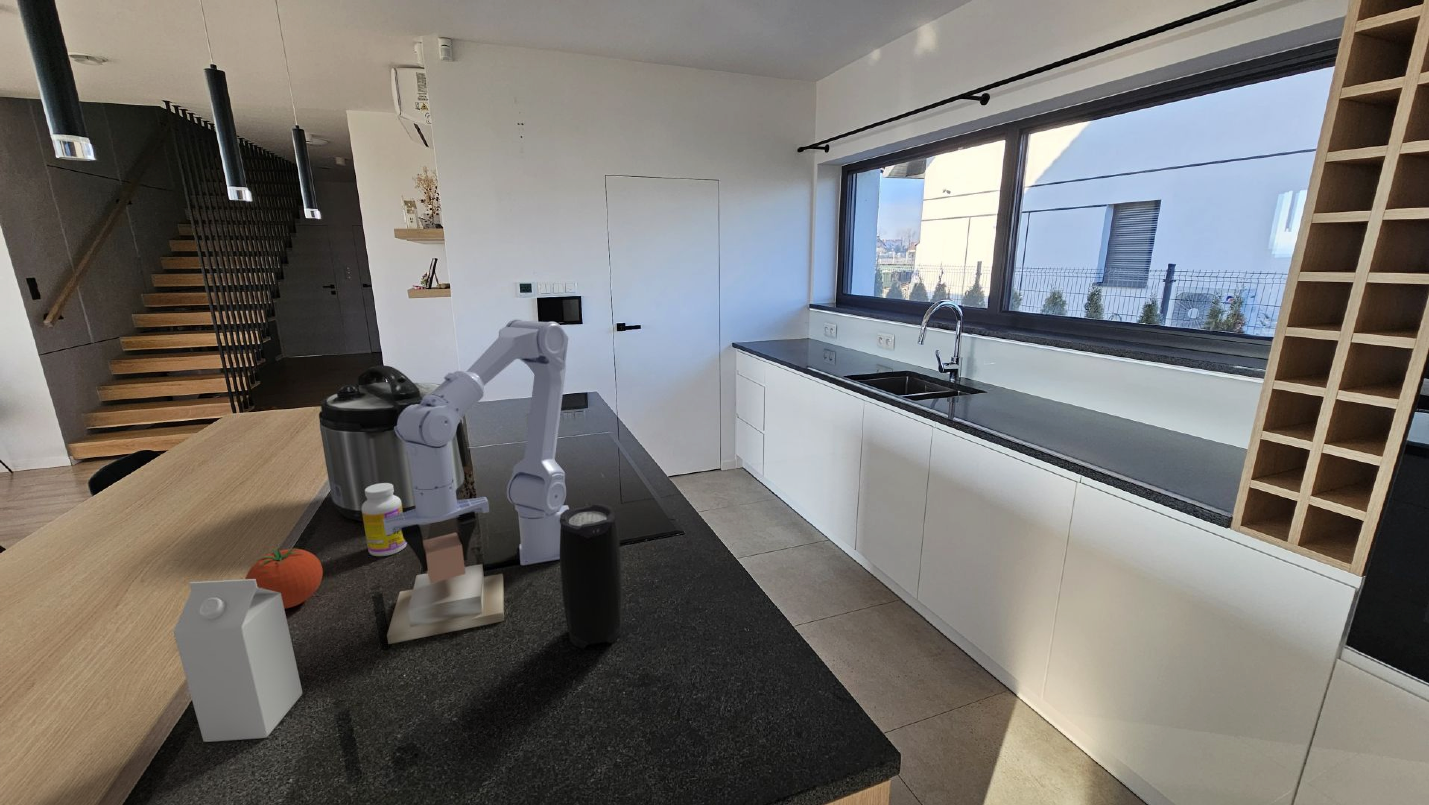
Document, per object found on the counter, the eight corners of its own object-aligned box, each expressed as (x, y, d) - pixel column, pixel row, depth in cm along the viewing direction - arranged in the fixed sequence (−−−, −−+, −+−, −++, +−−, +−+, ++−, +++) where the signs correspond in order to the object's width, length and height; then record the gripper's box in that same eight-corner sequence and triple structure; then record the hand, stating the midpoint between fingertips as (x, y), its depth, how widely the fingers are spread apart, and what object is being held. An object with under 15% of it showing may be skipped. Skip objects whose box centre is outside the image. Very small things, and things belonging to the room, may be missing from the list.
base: (503, 581, 101) (500, 558, 100) (503, 621, 90) (501, 595, 89) (401, 599, 96) (397, 575, 95) (388, 644, 85) (383, 617, 84)
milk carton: (245, 698, 75) (212, 566, 70) (303, 694, 75) (275, 563, 70) (203, 743, 68) (163, 600, 63) (267, 739, 68) (233, 597, 64)
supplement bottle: (390, 559, 108) (380, 496, 105) (360, 556, 110) (349, 493, 107) (415, 542, 115) (406, 482, 112) (386, 539, 116) (376, 479, 113)
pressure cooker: (458, 522, 123) (439, 377, 115) (309, 536, 118) (279, 384, 110) (481, 472, 152) (467, 352, 144) (362, 481, 146) (341, 357, 138)
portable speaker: (614, 609, 93) (608, 496, 88) (632, 643, 85) (627, 521, 80) (560, 623, 89) (551, 507, 84) (573, 661, 81) (564, 534, 76)
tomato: (319, 580, 102) (309, 528, 99) (334, 604, 95) (323, 549, 92) (246, 604, 95) (233, 549, 92) (255, 632, 88) (242, 573, 85)
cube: (459, 560, 95) (456, 532, 93) (465, 573, 90) (461, 544, 89) (426, 569, 92) (421, 540, 91) (430, 583, 88) (426, 553, 87)
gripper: (478, 465, 94) (487, 540, 98) (377, 484, 87) (390, 565, 90) (488, 478, 89) (497, 558, 92) (380, 500, 81) (394, 586, 84)
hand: (444, 563), depth 91 cm, fingers closed on cube, 5 cm apart
